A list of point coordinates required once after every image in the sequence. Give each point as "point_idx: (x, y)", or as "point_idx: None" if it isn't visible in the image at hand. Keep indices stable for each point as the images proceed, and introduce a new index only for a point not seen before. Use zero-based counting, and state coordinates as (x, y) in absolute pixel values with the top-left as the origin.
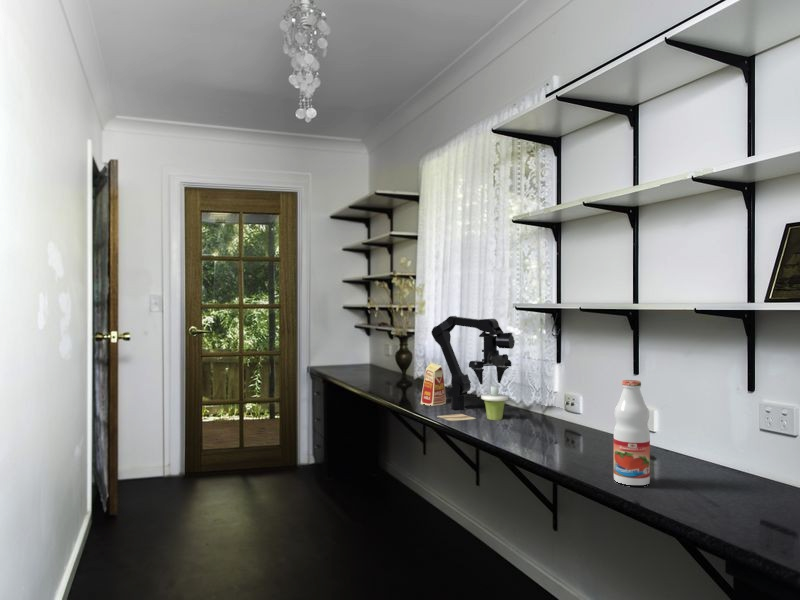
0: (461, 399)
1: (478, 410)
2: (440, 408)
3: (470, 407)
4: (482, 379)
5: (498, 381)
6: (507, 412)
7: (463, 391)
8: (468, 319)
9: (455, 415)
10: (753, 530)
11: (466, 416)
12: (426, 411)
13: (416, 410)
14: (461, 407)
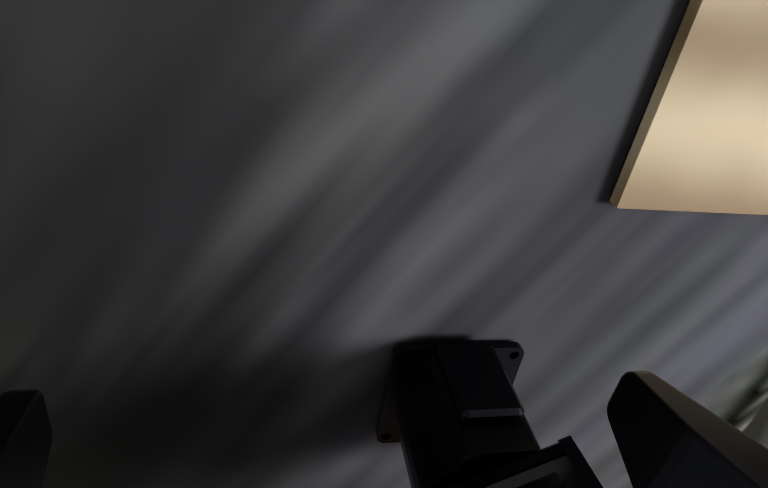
0: (493, 428)
1: (304, 302)
2: None
3: (276, 427)
4: (739, 462)
5: (36, 456)
6: (37, 45)
7: (545, 486)
8: None
9: (732, 157)
10: None
11: (716, 51)
12: None
13: None
14: (478, 357)
